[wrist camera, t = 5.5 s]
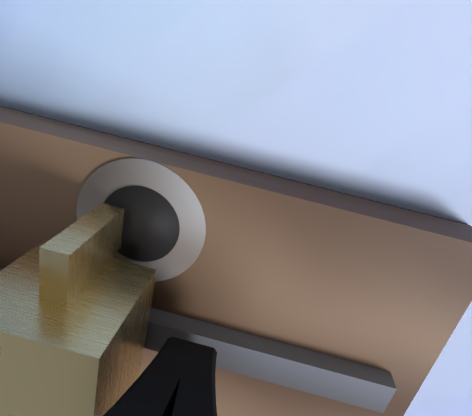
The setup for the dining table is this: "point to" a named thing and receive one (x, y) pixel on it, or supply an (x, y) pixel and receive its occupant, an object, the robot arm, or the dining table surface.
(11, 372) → the block
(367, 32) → the dining table surface
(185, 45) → the dining table surface
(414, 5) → the dining table surface
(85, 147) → the flat brown board
